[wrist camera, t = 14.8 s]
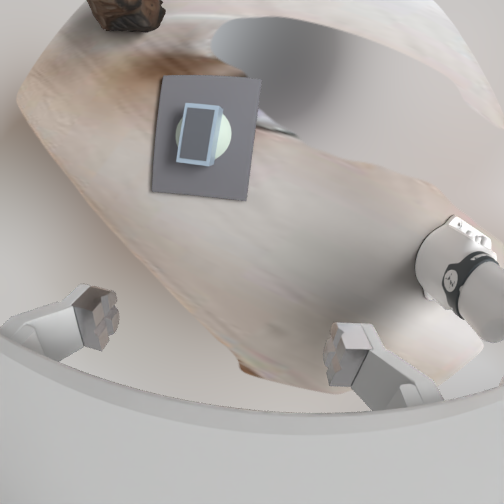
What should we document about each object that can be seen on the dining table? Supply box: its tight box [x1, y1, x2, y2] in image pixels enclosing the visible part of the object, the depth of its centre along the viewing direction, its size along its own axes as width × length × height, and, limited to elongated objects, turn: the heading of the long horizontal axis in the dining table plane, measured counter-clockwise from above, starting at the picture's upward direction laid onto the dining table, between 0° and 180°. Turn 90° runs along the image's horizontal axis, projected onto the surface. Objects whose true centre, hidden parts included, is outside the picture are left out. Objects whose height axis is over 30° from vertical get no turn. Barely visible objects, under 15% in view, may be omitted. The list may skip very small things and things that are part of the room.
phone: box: [176, 103, 223, 166], centre depth 38 cm, size 5×9×4 cm, turn 170°
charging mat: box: [152, 75, 262, 201], centre depth 41 cm, size 16×20×1 cm
